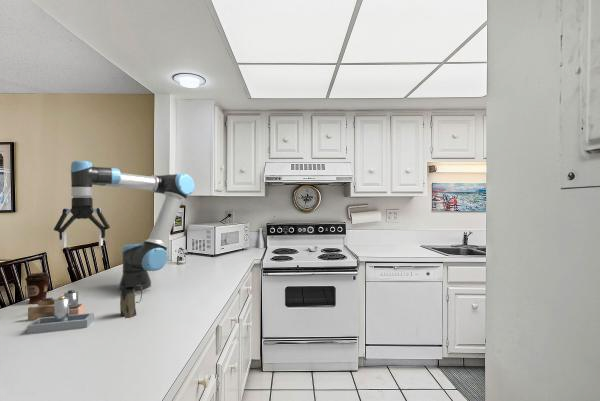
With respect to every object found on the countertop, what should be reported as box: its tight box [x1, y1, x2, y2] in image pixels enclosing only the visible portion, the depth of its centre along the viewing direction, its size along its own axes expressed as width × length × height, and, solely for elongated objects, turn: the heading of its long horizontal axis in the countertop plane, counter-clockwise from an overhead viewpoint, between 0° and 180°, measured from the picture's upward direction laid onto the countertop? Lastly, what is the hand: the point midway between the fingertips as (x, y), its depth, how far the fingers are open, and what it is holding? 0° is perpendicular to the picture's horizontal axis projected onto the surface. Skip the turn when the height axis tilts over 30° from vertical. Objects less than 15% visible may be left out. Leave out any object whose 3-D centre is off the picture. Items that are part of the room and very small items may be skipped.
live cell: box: [54, 295, 70, 322], centre depth 119 cm, size 4×4×11 cm
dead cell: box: [63, 289, 79, 309], centre depth 127 cm, size 4×4×11 cm
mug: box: [119, 285, 143, 319], centre depth 131 cm, size 8×6×12 cm
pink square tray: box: [69, 303, 86, 315], centre depth 127 cm, size 7×7×5 cm
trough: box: [26, 312, 95, 335], centre depth 119 cm, size 18×8×3 cm, turn 107°
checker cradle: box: [25, 297, 56, 322], centre depth 131 cm, size 11×10×6 cm
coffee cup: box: [24, 272, 50, 305], centre depth 149 cm, size 9×8×13 cm
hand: (82, 246), depth 140 cm, fingers open, 13 cm apart
